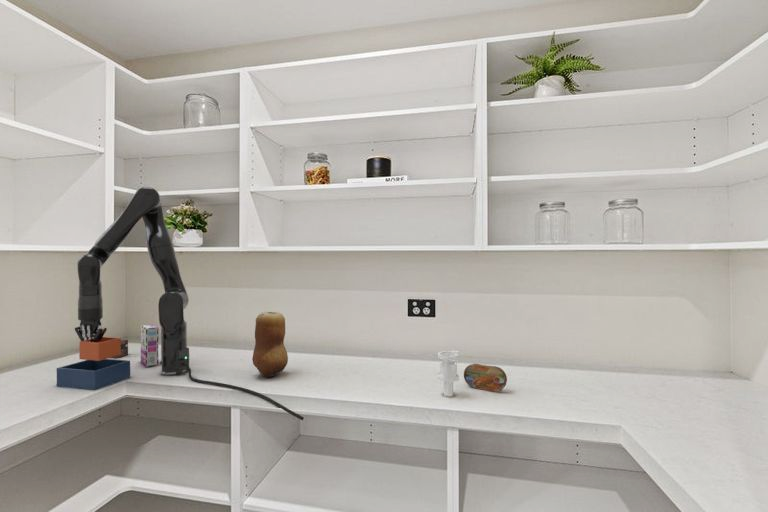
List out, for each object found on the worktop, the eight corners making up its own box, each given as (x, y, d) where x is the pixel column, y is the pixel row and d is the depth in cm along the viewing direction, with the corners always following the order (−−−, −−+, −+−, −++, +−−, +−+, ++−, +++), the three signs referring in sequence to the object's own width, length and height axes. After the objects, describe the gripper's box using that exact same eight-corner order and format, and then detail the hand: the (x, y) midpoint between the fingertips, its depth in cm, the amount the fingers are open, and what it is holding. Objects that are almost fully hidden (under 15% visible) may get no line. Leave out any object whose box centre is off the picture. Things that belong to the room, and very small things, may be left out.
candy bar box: (159, 365, 173) (158, 327, 173) (146, 367, 170) (145, 328, 169) (153, 360, 181) (152, 323, 181) (140, 362, 178) (140, 325, 178)
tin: (463, 386, 144) (463, 362, 144) (466, 383, 147) (466, 360, 147) (505, 394, 136) (505, 369, 136) (508, 391, 139) (508, 367, 139)
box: (117, 358, 185) (117, 342, 185) (106, 357, 186) (106, 341, 186) (128, 355, 191) (128, 339, 191) (117, 354, 192) (117, 339, 192)
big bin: (130, 377, 156) (130, 360, 156) (95, 390, 142) (94, 371, 142) (94, 374, 161) (94, 357, 160) (56, 386, 146) (56, 368, 146)
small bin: (120, 354, 154) (120, 338, 154) (98, 360, 146) (98, 342, 146) (102, 353, 156) (102, 336, 156) (79, 359, 148) (79, 341, 148)
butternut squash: (294, 375, 158) (294, 311, 158) (263, 383, 148) (262, 315, 148) (275, 368, 167) (275, 308, 167) (245, 375, 158) (244, 312, 158)
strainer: (456, 399, 131) (456, 353, 131) (435, 396, 134) (435, 351, 134) (461, 392, 138) (460, 349, 137) (441, 390, 140) (440, 347, 140)
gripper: (113, 306, 154) (113, 351, 154) (86, 304, 157) (86, 349, 157) (95, 308, 146) (95, 356, 146) (66, 307, 150) (67, 354, 150)
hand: (90, 352), depth 152 cm, fingers closed on small bin, 1 cm apart
